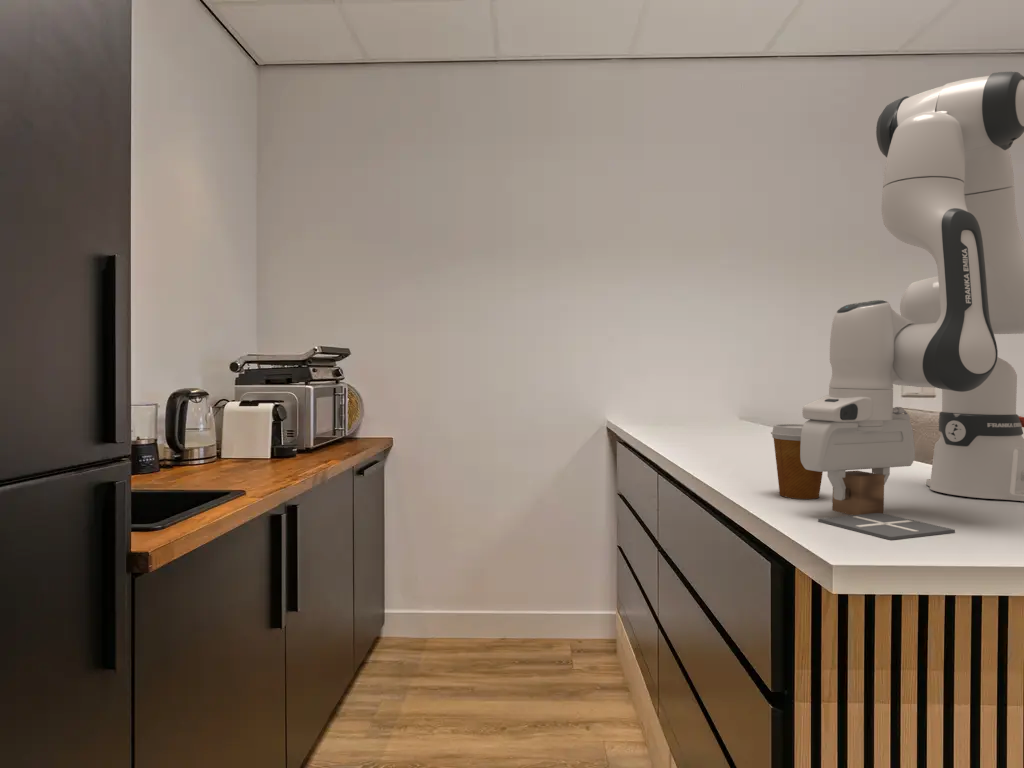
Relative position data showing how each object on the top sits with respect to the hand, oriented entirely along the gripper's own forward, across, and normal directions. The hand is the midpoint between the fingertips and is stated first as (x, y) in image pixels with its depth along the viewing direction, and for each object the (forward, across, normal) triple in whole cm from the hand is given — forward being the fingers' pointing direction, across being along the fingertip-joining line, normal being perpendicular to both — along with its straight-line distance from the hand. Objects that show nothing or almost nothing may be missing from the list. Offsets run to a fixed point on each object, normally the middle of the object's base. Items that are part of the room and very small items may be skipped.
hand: (858, 498), depth 112 cm
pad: (+2, +5, +9) cm, 10 cm away
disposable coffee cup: (+2, -2, -14) cm, 14 cm away
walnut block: (+2, 0, 0) cm, 2 cm away
